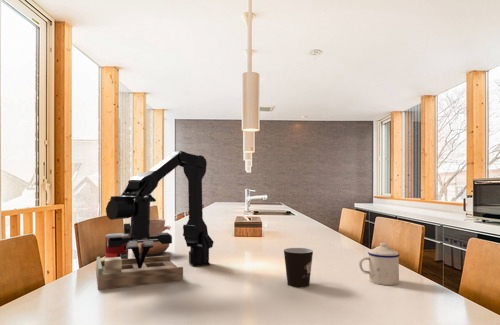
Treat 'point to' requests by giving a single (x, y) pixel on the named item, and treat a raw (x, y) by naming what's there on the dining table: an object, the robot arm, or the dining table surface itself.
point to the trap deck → (139, 273)
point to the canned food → (116, 248)
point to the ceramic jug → (155, 228)
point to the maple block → (113, 265)
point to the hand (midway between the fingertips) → (139, 268)
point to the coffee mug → (298, 266)
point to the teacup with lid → (382, 265)
